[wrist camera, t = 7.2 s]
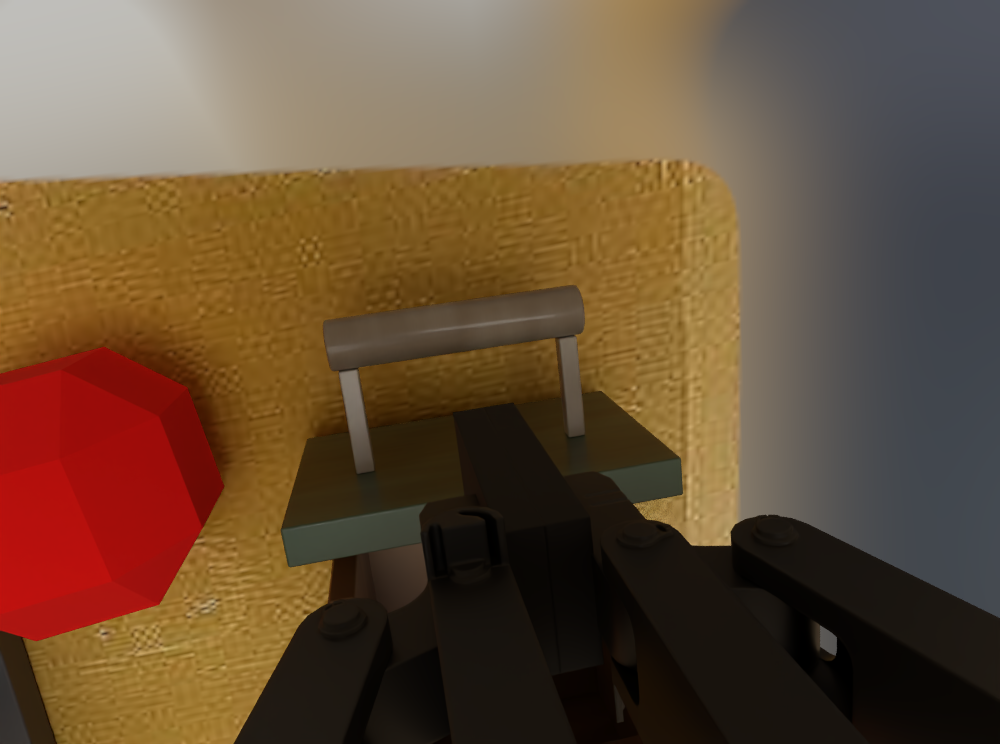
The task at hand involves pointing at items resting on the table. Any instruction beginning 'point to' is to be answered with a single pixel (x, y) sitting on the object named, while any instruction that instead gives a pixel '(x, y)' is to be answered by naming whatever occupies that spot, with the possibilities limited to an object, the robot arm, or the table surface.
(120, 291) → the table surface
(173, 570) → the red faceted polyhedron
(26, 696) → the stand
